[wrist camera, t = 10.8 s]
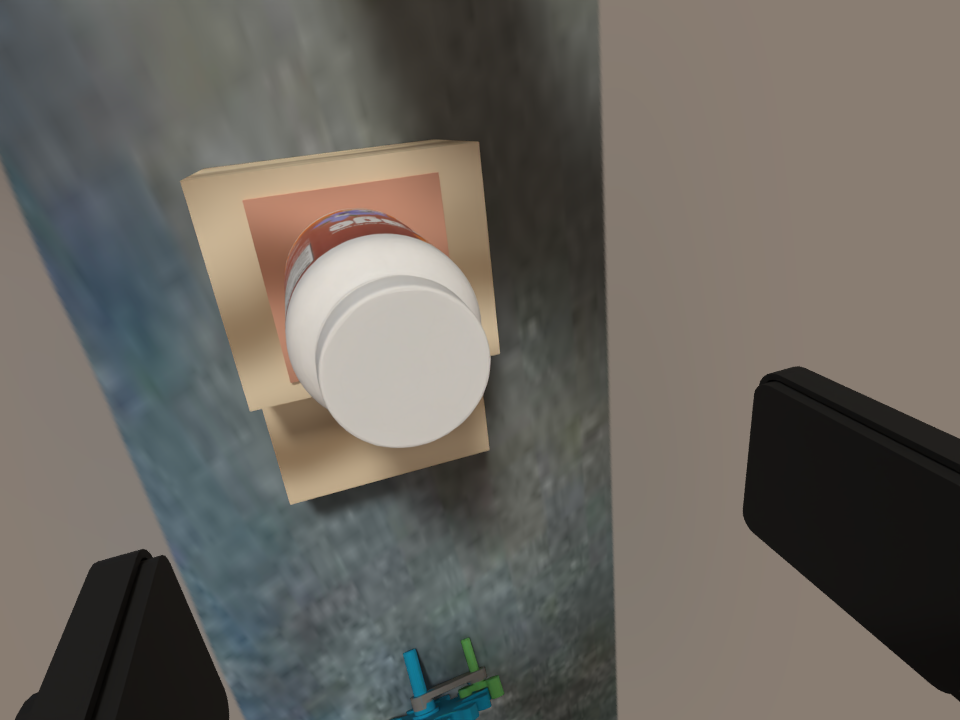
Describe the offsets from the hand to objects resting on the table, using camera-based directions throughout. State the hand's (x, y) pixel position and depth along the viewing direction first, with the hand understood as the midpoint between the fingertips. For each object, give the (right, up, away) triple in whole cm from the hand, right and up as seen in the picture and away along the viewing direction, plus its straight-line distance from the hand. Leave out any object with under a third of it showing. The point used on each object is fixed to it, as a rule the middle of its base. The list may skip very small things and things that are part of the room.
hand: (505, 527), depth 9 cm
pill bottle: (-6, +6, +16) cm, 18 cm away
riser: (-8, +5, +25) cm, 27 cm away
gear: (-5, -23, +38) cm, 44 cm away
